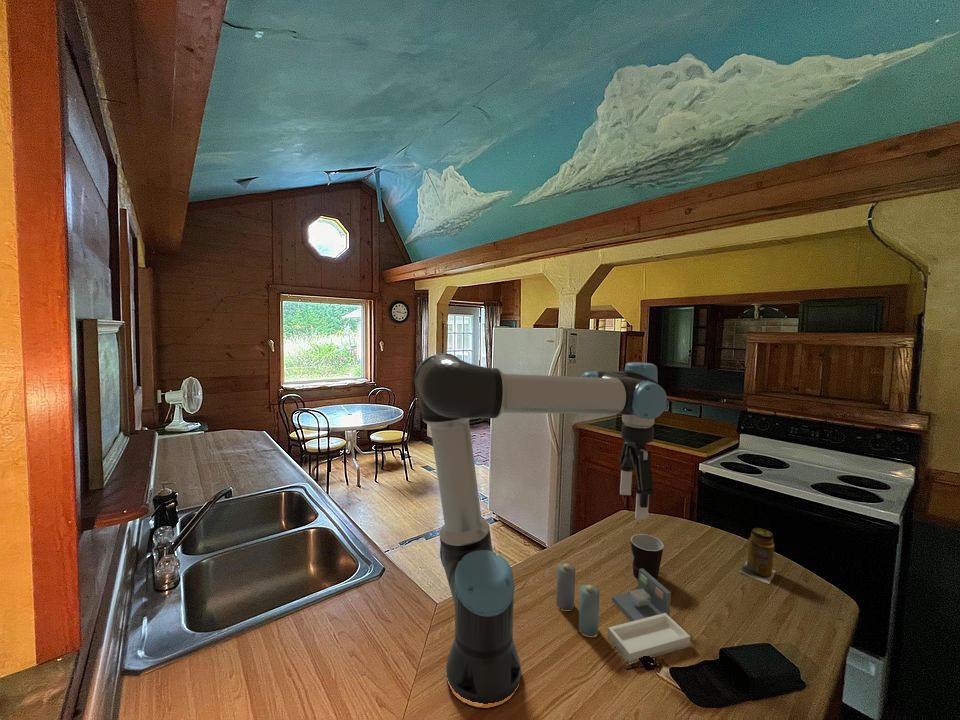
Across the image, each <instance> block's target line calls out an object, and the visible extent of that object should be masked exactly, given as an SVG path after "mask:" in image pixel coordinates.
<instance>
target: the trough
mask: <svg viewBox="0 0 960 720" xmlns="http://www.w3.org/2000/svg"><path fill="white" fill-rule="evenodd" d="M608 638H609V639H608ZM607 639H608V640H609V642H610V641H611V642H612V643H613V644H612V643H611V642H610V643H611V644H612V645H613V647H614V648H615V647H616V648H615V650H617V652H618V653H619V654H620V655H621V656H622V658H623V659H624V661H626V663H627V662H628V663H632V662H635V661H637V660H638V659H639V658H641V657H643V656H654V657H653V658H655V657H660V656H662V655H666V654H669V653H673V652H676V651H680V650H683V649H686V648H690V647H691V635H690V634H689V633H688V632H686V630H685V629H684V628H682V627H681V625H679V624H678V623H677V622H676V621H675V620H674V619H673V618H672V617H669V616H668V615H667V614H666V613H663V614H659V615H655V616H651V617H647V618H643V619H639V620H636V621H632V622H631V621H628V622H624V623H621V624H617V625H613V626H609V627H607ZM628 663H627V664H628Z"/></svg>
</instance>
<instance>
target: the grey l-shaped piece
mask: <svg viewBox="0 0 960 720" xmlns="http://www.w3.org/2000/svg"><path fill="white" fill-rule="evenodd" d="M637 581H638V582H637V590H638V589H644V590H645V591H646V592H647V593H648V594H649V595H650V596H651V604H649V605H645V606H641V607H638V606H637V605H636V604H635V603H634V602H633V601H632V600H631V599H630V592H626V593H621V594H617V595H613V596H612V598H611V601H612V602H613V604H615V606H616V607H617V606H618V607H617V608H618V609H619V610H620V611H621V612H622V613H623V614H624V615H625V616H626V617H627V619H628V620H630V621H629V622H632V621H636V620H639V619H643V618H647V617H651V616H655V615H659V614H663V613H666V614H667V615H668V616H669V617H670V614H671V602H672V601H671V600H672V592H671V591H670V590H669V589H668V588H666V586H664V585H663V584H662V583H660V582H659V581H658V579H657V580H656V579H655V578H653V577H652V576H651V575H650V574H649V573H648V572H646V571H645V570H644V569H643V568H642V569H639V577H638V579H637ZM670 618H671V617H670Z"/></svg>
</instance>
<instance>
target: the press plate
mask: <svg viewBox="0 0 960 720" xmlns="http://www.w3.org/2000/svg"><path fill="white" fill-rule="evenodd" d="M630 599H631V600H632V601H633V602H634V603H635V604H636V605H637V606H638V607H641V606H645V605H649V604H651V596H650V595H649V594H648V593H647V592H646V591H645V590H644V589H638V588H637V589H634V590H630Z"/></svg>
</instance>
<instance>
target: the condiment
mask: <svg viewBox="0 0 960 720" xmlns="http://www.w3.org/2000/svg"><path fill="white" fill-rule="evenodd" d="M750 532H751V533H750V536H749V538H748V546H747V547H748V549H747V559H746V561H745V562H744V564H743V565H742V567H741V568H740V569H739V570H738V571H739V573H741V574H743V575H745V576H747V577H750V578H752V579H755V580H756V581H760V582H762V583H765V584H768V585H770V584H771V581H772V580H773V578H774V577H775V575H776V573H777V571H776V570H775V569H773V566H774V565H773V564H774V553H775V544H774V534H773V532H771V531H770V530H767V529H766V528H760V527H754V528H752V529H751V531H750ZM775 572H776V573H775ZM774 574H775V575H774Z"/></svg>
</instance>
